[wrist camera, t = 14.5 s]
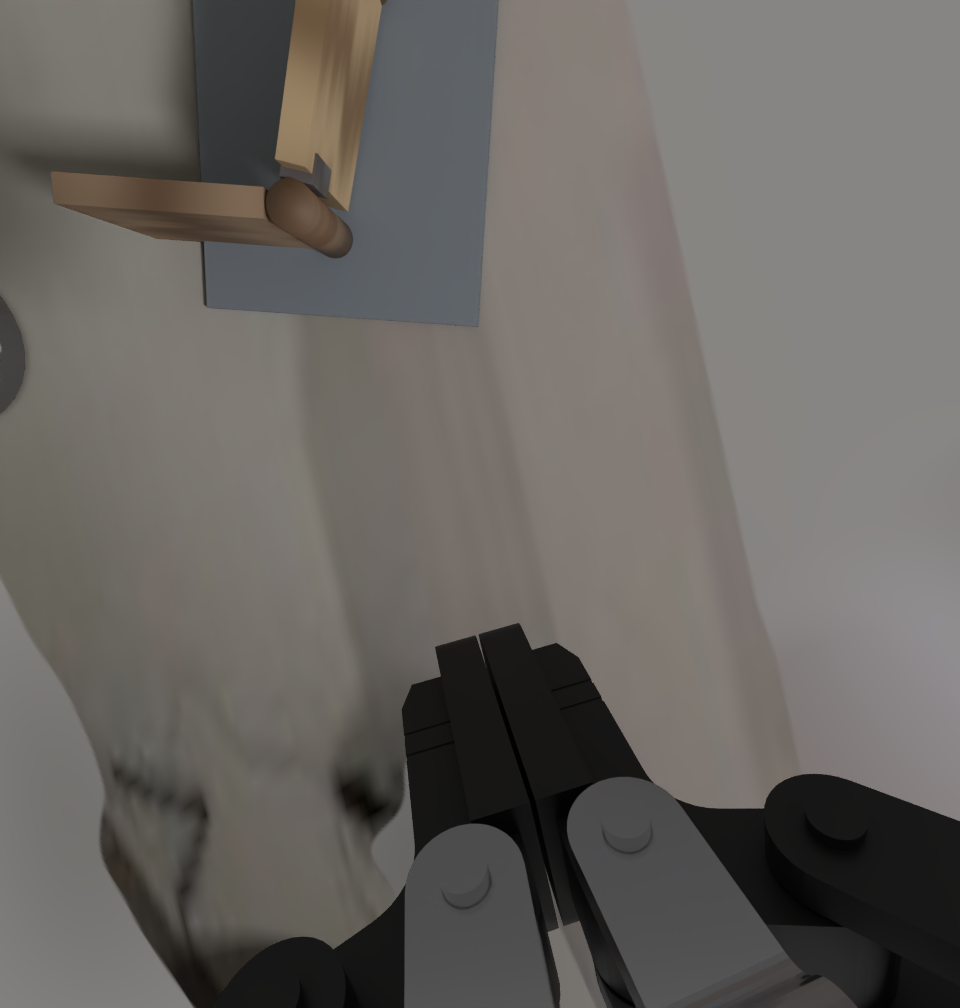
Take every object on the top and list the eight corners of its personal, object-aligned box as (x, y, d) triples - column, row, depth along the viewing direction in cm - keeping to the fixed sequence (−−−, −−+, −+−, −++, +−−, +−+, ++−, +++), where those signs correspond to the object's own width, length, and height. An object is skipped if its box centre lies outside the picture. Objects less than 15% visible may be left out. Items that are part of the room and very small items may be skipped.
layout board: (209, 307, 33) (206, 307, 33) (192, -60, 29) (189, -65, 28) (478, 326, 33) (478, 326, 33) (500, -35, 29) (501, -40, 29)
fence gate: (352, 221, 31) (306, 175, 23) (318, 212, 31) (260, 163, 23) (394, -30, 29) (359, -186, 20) (357, -41, 28) (306, -202, 20)
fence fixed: (156, 246, 32) (54, 214, 25) (154, 206, 32) (49, 160, 24) (353, 260, 32) (314, 232, 25) (354, 220, 32) (314, 179, 24)
